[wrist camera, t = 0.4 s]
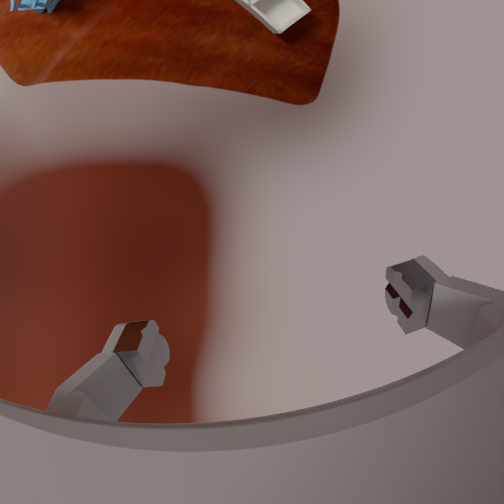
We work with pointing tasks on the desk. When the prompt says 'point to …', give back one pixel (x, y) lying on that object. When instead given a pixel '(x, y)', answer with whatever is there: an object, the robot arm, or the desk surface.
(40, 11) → the chair
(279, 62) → the desk surface
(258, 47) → the desk surface
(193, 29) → the desk surface
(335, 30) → the desk surface
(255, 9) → the well holder
